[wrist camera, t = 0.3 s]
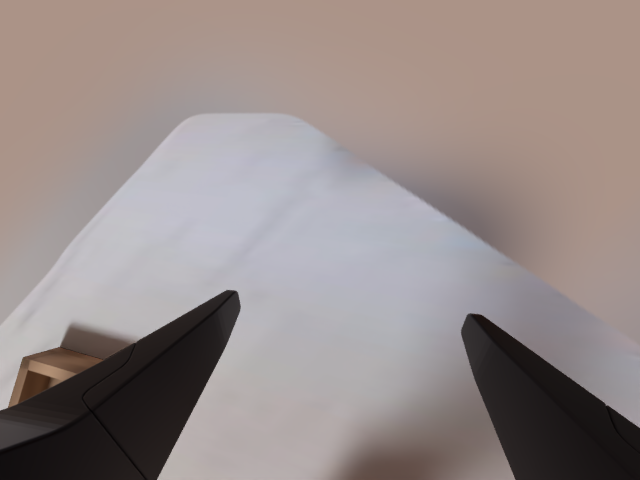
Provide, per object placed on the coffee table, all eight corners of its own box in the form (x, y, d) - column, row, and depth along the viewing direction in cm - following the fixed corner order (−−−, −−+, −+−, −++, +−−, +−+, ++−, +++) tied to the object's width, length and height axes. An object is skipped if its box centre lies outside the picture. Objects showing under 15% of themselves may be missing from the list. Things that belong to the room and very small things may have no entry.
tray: (166, 377, 25) (141, 393, 22) (132, 518, 23) (101, 555, 20) (59, 347, 26) (22, 357, 23) (21, 476, 25) (-22, 504, 22)
